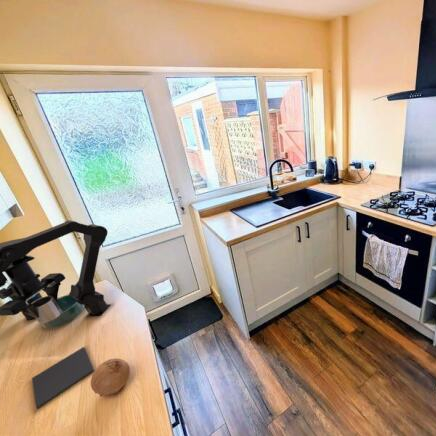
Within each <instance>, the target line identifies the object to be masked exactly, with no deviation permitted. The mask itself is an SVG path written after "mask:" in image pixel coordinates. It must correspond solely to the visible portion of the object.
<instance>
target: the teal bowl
mask: <svg viewBox="0 0 436 436" xmlns="http://www.w3.org/2000/svg"><path fill="white" fill-rule="evenodd" d="M57 304H58V305H59V307H60V308H61V310H62V313H61V314H60V315H59V316H58V317H57V318H55V319H54V320H52V321H50V322H47V323H40V325H41V326H42V328H44V329H54V328H58V327H61V326H63V325H65V324H68V323H69V322H71V321H73V320H74V319H76V318H77V317H78V316H79V315H80V314H82V312H83V311H84V309H85V307H84V305H81V304H79V303H77V302H76V301H74V300H72V299H71V295H69V294H66V295H63V296H61V297H57Z"/></svg>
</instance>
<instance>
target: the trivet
mask: <svg viewBox="0 0 436 436" xmlns="http://www.w3.org/2000/svg"><path fill="white" fill-rule="evenodd" d="M94 371H95V370H94V367H93V365H92V363H91V360H90V357H89V354H88V353H87V350H86V348H85V347H84V346H83V347H81V348H80V349H78V350H76V351H75V352H73V353H71V354H69V355H68V356H66V357H65V358H63V359H61V360H60V361H58V362H56V363H55V364H52V365H51V366H50V367H48V368H46V369H45V370H43V371H41V372H40V373H37V374H36V375H34V376H33V377H31V381H32V388H33V389H32V390H33V396H34V402H35V408H36V409H37V410H39V409H40V408H42V407H43V406H45V405H46V404H47V403H49V402H51V401H53V399H55V398H57V397H58V396H59V395H62V393H64V392H65V391H67V390H68V389H70V388H72V387H73V386H75V385H76V384H77V383H79V382H80V381H82V380H84V379H85V378H86V377H88V376H89V375H91V374H93V373H94Z"/></svg>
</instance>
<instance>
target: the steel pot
mask: <svg viewBox="0 0 436 436" xmlns="http://www.w3.org/2000/svg"><path fill="white" fill-rule="evenodd" d="M31 304H33V305H34V307H35V309H36V310H37V312H38V314H39V318H36V319H35V320H37V322H38V323H39V324H41V323H47V322H50V321H52V320H54V319H55V318H57V317H58V316H59V315H60V314H61V313H62V310H61V308H60V307H59V305H58V304H57V302H56V301H55V299H54V298H53V297H52V296H48V295H45V296H42V298H40V299H38V300H36V301H34V302H33V303H31Z"/></svg>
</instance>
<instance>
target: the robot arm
mask: <svg viewBox="0 0 436 436" xmlns="http://www.w3.org/2000/svg"><path fill="white" fill-rule="evenodd" d="M72 233H77V234H78V233H79V234H83V241H84V245H85V248H84V253H83V258H82V262H81V268H80V272H79V278H78V281H77V282H76V283H75V284H71V285H70V291H69V293H68V295H71V299H72V300H74V301H76V302H77V303H79V304H81V305H84V309H85V310H86V312H87V313H88V314H87V315H86V318H94V317H101V316H103V315H104V313H106V311H107V310H108V309H109V308H110V307H111V304H107V302H106V301H105V295H104V294H102V293H101V292H98V291H96V286H95V283H94V279H95V275H96V268H97V263H98V259H99V255H100V248H101V247H102V246H103V244H104V243H105V242H106V239H107V236H108V229H107V228H106V227H105V226H103V225H99V224H94V223H92V224H84V223H81V222H78V221H76V220H69V219H68V220H66V221H64V222H62V223H60V224H57V225H54V226H51V227H49V228H47V229H44V230H41V231H39V232H36V233H34V234H31V235H29V236H26V237H21V238H16V239H11V240H7V241H2V242H0V288H1V289H0V299H1V300H5V299H7V298H9V299H10V300H8V301H6V302H5V303H3V304H1V306H0V316H2V317H4V316H16V315H18V314H19V313H22V312H24V313H26V314H28V315H30V316H32V317H34V318H39V314H38V312H37V310H36V309H35V307H34V305H33V304H28V302H27V300H29V299H30V298H32V297H33V296H34V295H36V294H37V293H40V292H41V291H43V292H44V293H45V294H46V296H52V297H53V298H54V299H55V301H56V302H57V298H59V297H58V295H59V290H60V286H61V285H62V282H64V280H66V276H65V274H64V273H62V272H54V273H52V272H51V273H49V274H46V276H44V277H42V278H41V279H39V278H40V277H41V274H40V273H36V272H35V270H34V269H33V268H32V266H31V265H30V263H29V262H31V261H33V260H35V257H34V256H32V255H29V253H31V252H32V251H33V250H34V249H36V248H39V247H40V246H43V245H45V244H48V243H50V242H53V241H55V240H57V239H60V238H63V237H64V236H67V235H69V234H72ZM4 273H5V274H4ZM5 275H6V276H7V277H8V278H9V280H10V283H9V285H10V287H9V288H7V287H4V286H6V284H7V282H8V281H9V280H8V278H7V277H6V276H5ZM11 281H12V282H11ZM2 287H3V288H2ZM14 295H15V296H20V295H22V296H23V297H21V298H20V299H18V300H12V299H11V297H12V296H14Z"/></svg>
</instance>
